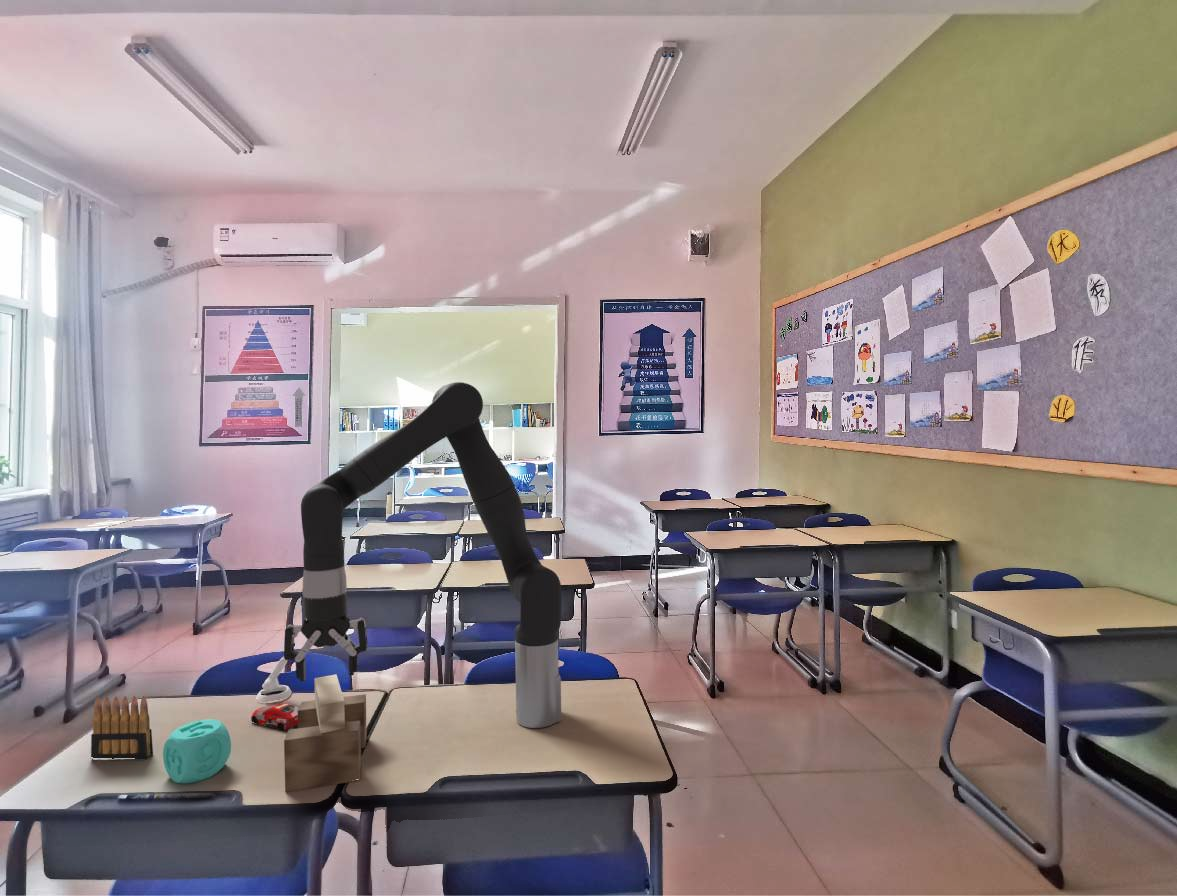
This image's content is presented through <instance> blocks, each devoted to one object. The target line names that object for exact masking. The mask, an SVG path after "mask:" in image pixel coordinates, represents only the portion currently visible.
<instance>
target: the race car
mask: <svg viewBox="0 0 1177 896" xmlns="http://www.w3.org/2000/svg"><path fill="white" fill-rule="evenodd" d="M298 709H299V707H298V706H296V705H294V704H291V703H287V702H280V703H277V704H268V705H265V706H262V707H259V708H257V709H255V710H254V711H253V713H252V714H251V718H250V719H251V722H254V723H257V724H256V725H261V726H265V727H268V728H273V729H277V730H279V729H280V730H279V731H289V730H290V729H297V728H298Z"/></svg>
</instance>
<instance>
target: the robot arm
mask: <svg viewBox="0 0 1177 896" xmlns="http://www.w3.org/2000/svg"><path fill="white" fill-rule="evenodd" d="M434 393H435V394H434V395H433V397H432V401H431V403H430V404H428V406H427V407H426V408H425V409H424V410H423V411H422V412H420V413H419V414H417V416H416V417H414V418H412V419H411V420H410V421H409V422H407V423H406V424H405V425H403V426H400V427H399V428H398V429H396V430H395V431H392V432H391V433H389V434H388V435H386V436H384V437H383V438H381V439H380V440H378V441H376V442H374V443H373V444H371V445H370V446H369V447H367V448H366V449H364V450H363V451H361V452H360V453H359V454H357V455H356V456H354V457H353V458H352V459H350V460H349V461H348V462H346V464H344V465H343V467H341V468H340V469H338V470H336V471H335V472H333V473H332V474H330V475H329V476H328V477H326V478H324V479H323V480H321V481H320V482H318V483H316V484H315V485H313V486H312V487H311V488H309V489H308V490H307V491H306V492H305V494H304V495H303V496H302V499H301V503H300V515H301V517H300V518H301V529H302V534H303V535H302V536H303V548H302V549H303V551H302V552H303V553H302V555H303V559H302V560H303V574H302V575H303V577H302V588H301V593H302V602H303V603H302V604H303V606H302V607H303V623H302V625H299V624H297V625H295V624H293V623H290V624H287V626H286V628H285V629H284V641H283V642H284V644H283V645H284V646H283V647H284V649H283V656H284V659H285V660H288V661H294V662H295V676H296V679H297V680H299V681H300V683H302V682H305V681H306V679H307V661H306V657H305V656H306V655H307V654H308V653H309V651H310V650H311V649H312V648H313V646H314V647H316V648H317V649H318V648H322V647H327V646H328V647H335V646H336V645H337V644H338V645H339V646H340V647H341V648H342V649H344V650H345V651H346V652H347V653H348V654H349V656H348V666H349V667H348V671H349V677H350V676H354V675H355V673H356V672H357V671H358V667H359V654H360V653H362V652H364V653H365V651H367V648H368V644H369V643H368V642H369V641H368V635H367V634H368V633H367V632H368V631H367V623H366V618H365V617H364V616H361V617H359V618H358V619H353V620H350V618H349V616H348V593H347V590H348V588H347V585H348V584H347V573H346V569H345V546H344V540H343V510H344V509H347V508H348V507H349V506H350V505H351V504H352V503H354V502H355V501H356V500H357V499H359V498H360V497H362V496H364V495H367V494H368V493H370V492H372V491H374V490H376V488H378V487H379V486H380V485H382V484H383V483H384V482H386V481H387V480H389V478H391V477H393V476H394V475H395V474H396V473H398V472H399V471H400V470H402V469H403V468H404V467H405V466H407V465H408V464H409V463H410V462H412V461H413V460H414V459H415V458H417V457H418V456H419V455H421V454H422V453H424V452H425V451H426V450H428V449H429V448H430V447H432V446H434V445H436V444H438V442H440V441H442V440H443V439H447V440H448V442H449V444H450V446H451V448H452V450H453V451H454V454H455V456H456V459H457V462H458V464H459V468H460V471H461V473H462V477H463V480H464V482H465V484H466V487H467V489H468V492H469V495H470V497H471V499H472V501H473V504H474V506H475V509H476V511H477V513H478V515H479V518H480V520H481V522H482V524H483V526H484V528H485V530H486V532H487V534H488V536H489V538H490V540H491V542H492V543H493V545H494V547H495V549H496V551H497V553H498V556H499V558H500V561H501V564H502V567H503V570H504V573H505V577H506V581H507V582H508V586H509V590H510V592H511V595H512V596H513V598H515V600H516V601H517V602H518V603H520V613H519V615H520V616H519V618H520V619H519V620H520V622H519V624H517V625H516V627H515V629H514V650H515V651H514V654H515V657H514V658H515V659H514V660H515V661H514V662H515V714H516V715H515V717H516V718H515V720H516V722H517V724H519V725H520V726H522V727H525V728H529V729H530V728H531V729H541V728H546V727H549V726H552V725H554V724H556V723H559V722H562V677H561V676H560V673H559V641H558V639H559V630H560V627H561V625H562V600H563V599H562V598H563V597H562V596H563V595H562V583H561V581H560V578H559V576H558V575H557V574H556V572H555V571H554V570H552V569H551V568H548V567H546V566H544V565H542V563H541V562H540V560H539V558H538V557H537V554H536V553H535V551H534V549H533V546H532V544H531V543H530V540H529V538H528V537H529V536H528V532H527V527H526V519H525V511H524V507H523V504H522V500H521V498H520V496H519V491H518V490H517V488H516V486H515V482H514V481H513V479H512V477H511V475H510V473H509V472H508V470H507V468H506V467H505V465H504V463H503V462H502V460H501V459H500V458H499V455H497V453H496V452H495V451H494V449H493V447H492V446H491V444H490V443H489V441H488V439H487V436H486V434H485V432H484V429H483V426H482V424H481V420H480V417H481V415H482V413H483V410H484V402H483V398H482V394H481V392H480V391H479V390H478V389H477V387H475V386H474V385H471V384H470V383H467V382H463V381H462V382H461V381H455V382H451V383H448V384H445V385H443V386H441V387H440V388H439V389H438V390H437V391H436V392H434ZM350 628H353V630H354V632H356V633H357V634H358V644H355V642H354V641H352V639H351V637H350V636H349V634H347V632H348V631H349V629H350ZM300 632H301V633H302V635H303V636H304V637H305V638H306V639H307V640H306V641H305V642H304V644H303V646H302V647H301V648H300V650H299V651H296V650H295V639H296V638H297V637H298V635H299V633H300Z"/></svg>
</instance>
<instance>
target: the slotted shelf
mask: <svg viewBox="0 0 1177 896" xmlns="http://www.w3.org/2000/svg"><path fill="white" fill-rule="evenodd" d="M343 698H344V710H345V728H344V729H339V730H335V731H330V732H326V733H320V728H319V722H318V717H317V712H316V706H315V699H314V700H305V701H301V702H300V704H299V707H298V708H299V709H298V727H297V728H293V729H290V730H287V733H286V735H285V738H284V740H283V744H284V745H283V748H284V749H283V750H284V789H285V790H284V792H285V793H287V792H295V791H301V790H306V789H307V790H308V789H313V788H320V787H324V786H325V787H326V786H333V785H338V784H340V785H341V784H345V783H352V782H351V781H352V780H356V779H359V780H360V778H361V773H360V772H361V771H362V749H365V748H366V744H367V739H368V737H367V736H368V735H367V733H368V732H367V694H358V695H347V696H343ZM359 777H360V778H359Z"/></svg>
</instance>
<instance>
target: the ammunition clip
mask: <svg viewBox="0 0 1177 896" xmlns="http://www.w3.org/2000/svg"><path fill="white" fill-rule="evenodd" d="M102 704H103V705H102ZM129 704H130V702H129V699H128V698H127V696H126V695H124V696H123V698H122V701H121V703H120V700H119V698H118V696H117V695H115V697H114V698H113V700H112V706H111V701H110V698H109V696H105V698H104V701H103V703H102V701H101V698H100V697H99V696H96V698H95V701H94V704H93V705H94V706H93V718H92V733H91V737H90V739H91V740H90V741H91V742H90V745H91V746H90V758H91V757H93V758H112V759H114V758H135V759H146V760H148V759H149V758H150V756H151V757H152V756H153V755H154V751H153V749H154V747H153V745H154V744H153V734H152V733H153V732H152V728H150V727H151V726H150V724H151V723H150V722H151V721H150V715H149V707H148V700H147V698H146V696H145V695H142V697H141V700H140V705H139V702H138V699H137V697H136V695H133V697H132V699H131V704H130V705H129ZM148 757H149V758H148ZM147 758H148V759H147Z"/></svg>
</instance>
